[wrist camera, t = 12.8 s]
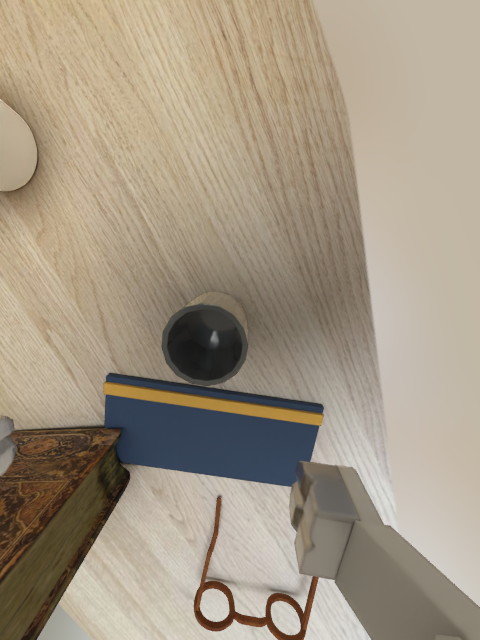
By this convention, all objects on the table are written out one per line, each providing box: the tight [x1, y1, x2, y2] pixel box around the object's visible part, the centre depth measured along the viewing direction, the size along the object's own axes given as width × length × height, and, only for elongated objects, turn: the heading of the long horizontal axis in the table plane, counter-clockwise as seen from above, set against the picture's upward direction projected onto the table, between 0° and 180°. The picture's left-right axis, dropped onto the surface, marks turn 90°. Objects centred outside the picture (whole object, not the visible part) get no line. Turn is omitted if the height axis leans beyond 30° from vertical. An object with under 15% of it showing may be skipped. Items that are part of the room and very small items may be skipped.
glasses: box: [194, 498, 319, 640], centre depth 29 cm, size 13×13×5 cm
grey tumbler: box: [162, 292, 248, 386], centre depth 21 cm, size 6×6×7 cm
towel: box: [104, 373, 324, 487], centre depth 27 cm, size 22×10×1 cm, turn 81°
